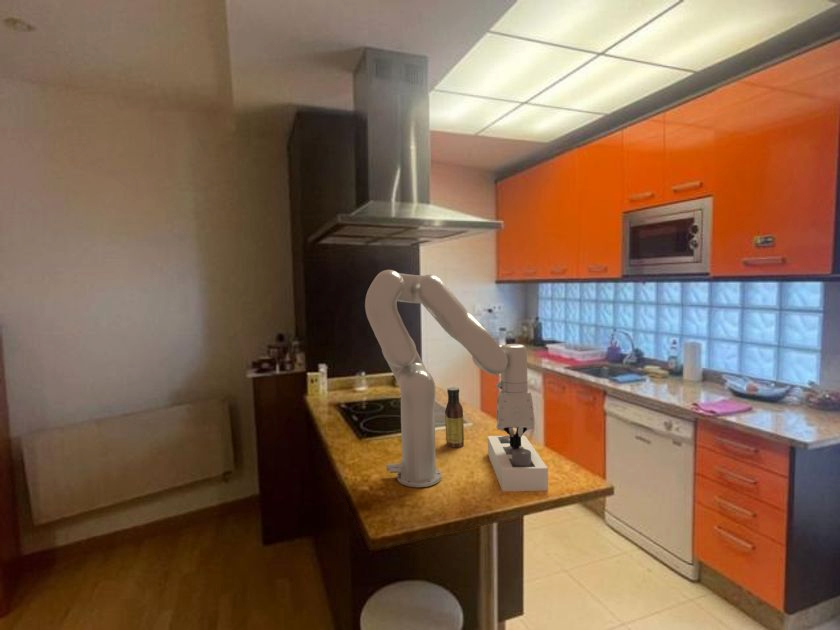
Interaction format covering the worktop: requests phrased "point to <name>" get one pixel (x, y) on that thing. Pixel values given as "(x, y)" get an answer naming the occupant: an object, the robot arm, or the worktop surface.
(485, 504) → the worktop surface
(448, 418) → the sauce bottle
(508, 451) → the middle cap
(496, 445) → the button panel
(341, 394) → the worktop surface
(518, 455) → the near cap
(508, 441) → the far cap
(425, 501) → the worktop surface
